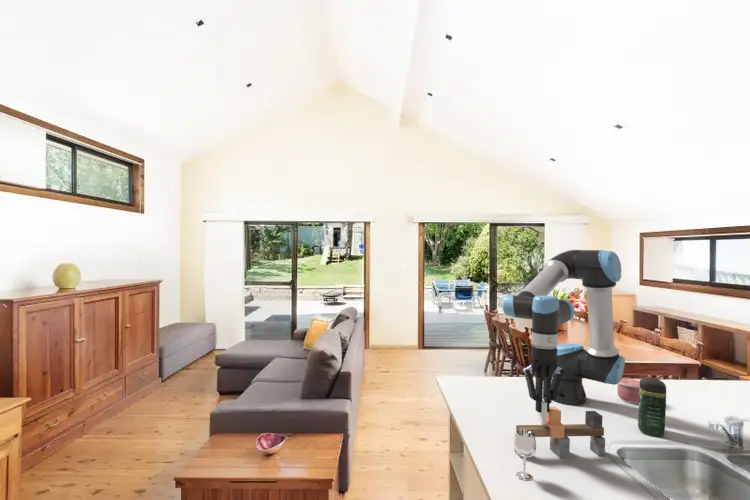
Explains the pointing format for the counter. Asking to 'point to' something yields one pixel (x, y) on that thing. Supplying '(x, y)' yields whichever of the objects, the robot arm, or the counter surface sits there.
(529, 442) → the wineglass
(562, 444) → the beam
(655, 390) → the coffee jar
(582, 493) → the counter surface
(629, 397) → the container
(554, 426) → the rider
